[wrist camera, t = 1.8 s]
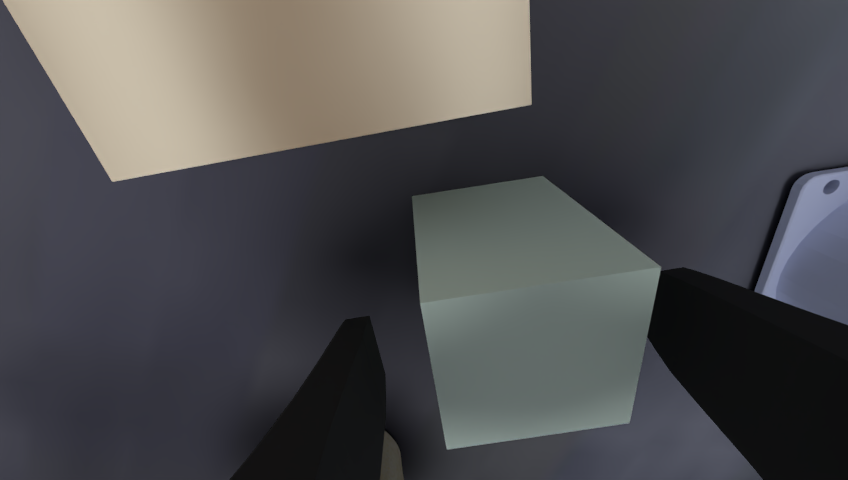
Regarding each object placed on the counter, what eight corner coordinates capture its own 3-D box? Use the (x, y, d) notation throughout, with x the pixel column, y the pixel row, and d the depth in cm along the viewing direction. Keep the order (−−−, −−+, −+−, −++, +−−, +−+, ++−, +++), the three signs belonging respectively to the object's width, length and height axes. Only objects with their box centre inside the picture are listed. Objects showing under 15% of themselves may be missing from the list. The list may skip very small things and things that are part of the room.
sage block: (542, 175, 12) (661, 267, 6) (540, 284, 14) (629, 423, 8) (411, 195, 12) (420, 302, 6) (429, 301, 14) (446, 449, 8)
